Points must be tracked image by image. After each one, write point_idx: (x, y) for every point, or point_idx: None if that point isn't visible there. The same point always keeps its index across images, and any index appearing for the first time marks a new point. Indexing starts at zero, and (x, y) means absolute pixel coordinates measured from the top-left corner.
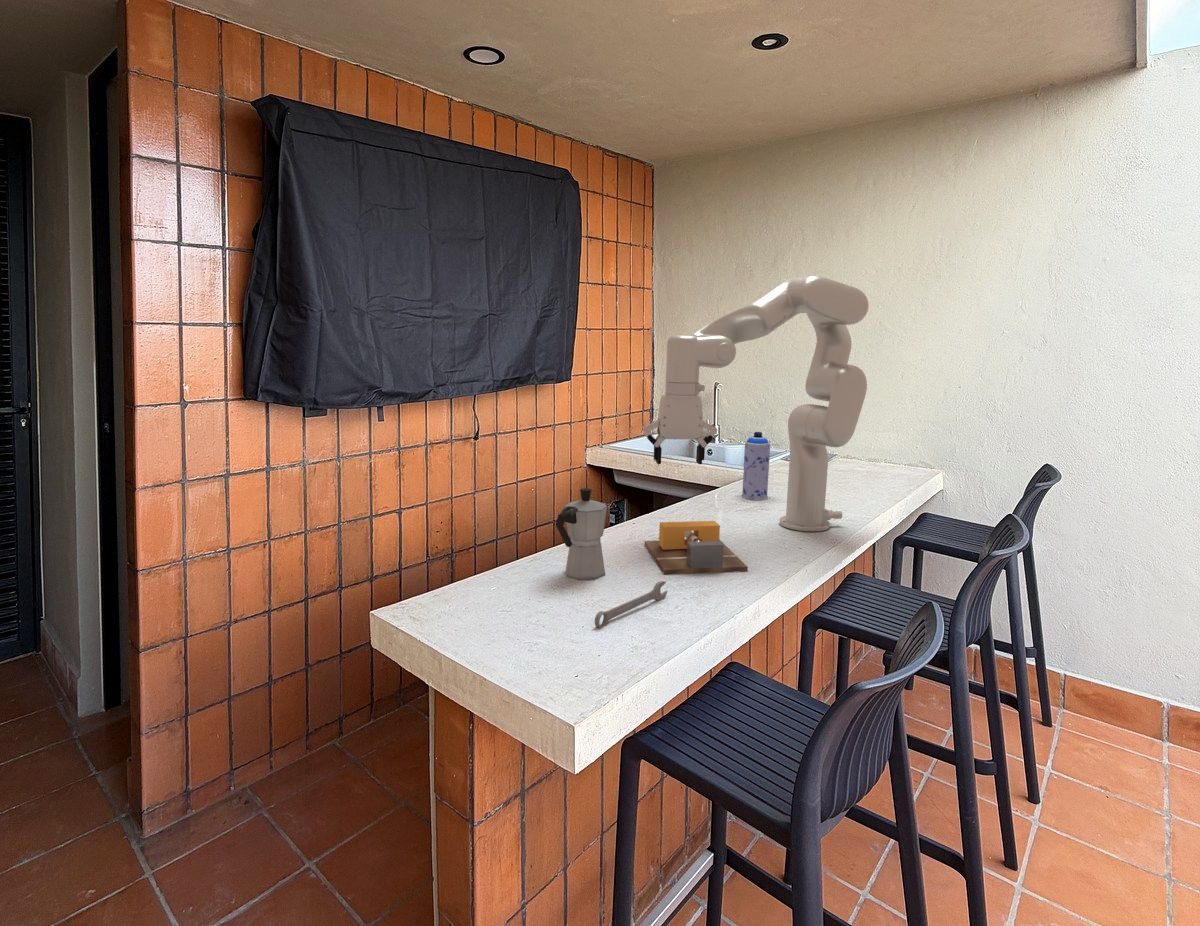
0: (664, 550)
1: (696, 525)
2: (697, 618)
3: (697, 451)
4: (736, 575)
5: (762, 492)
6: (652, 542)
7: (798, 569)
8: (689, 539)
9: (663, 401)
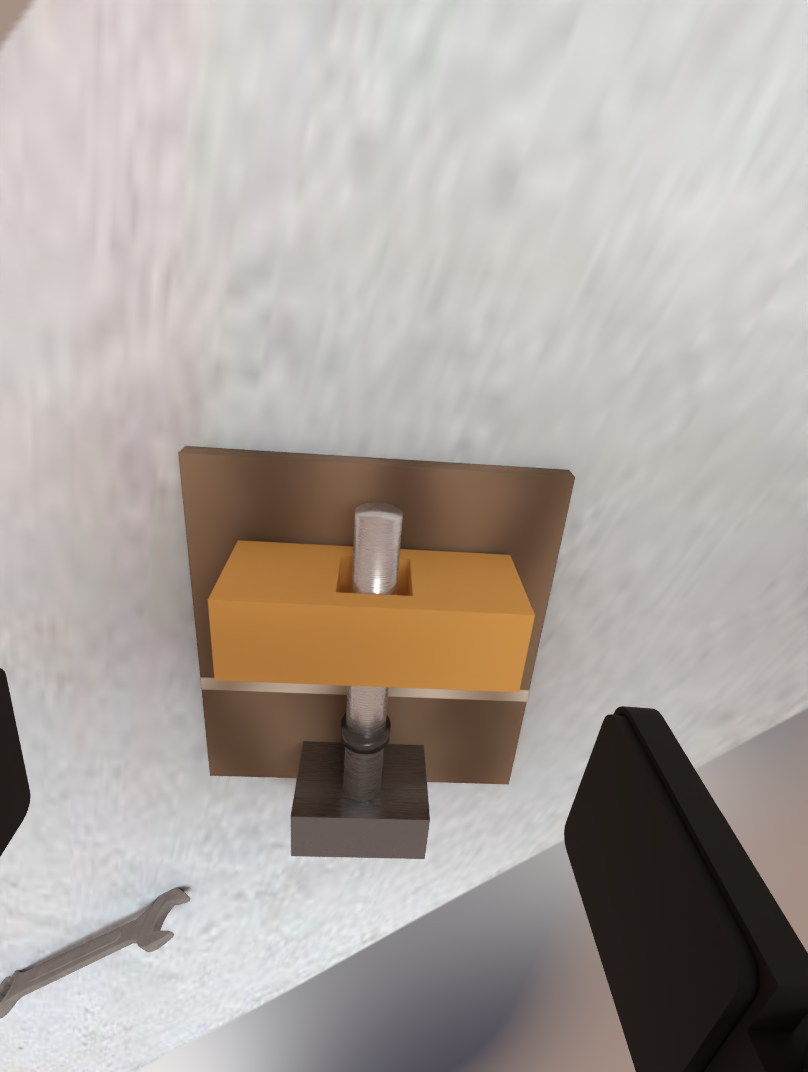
0: None
1: (398, 676)
2: (243, 970)
3: (662, 919)
4: (452, 792)
5: None
6: (216, 484)
7: None
8: None
9: None
